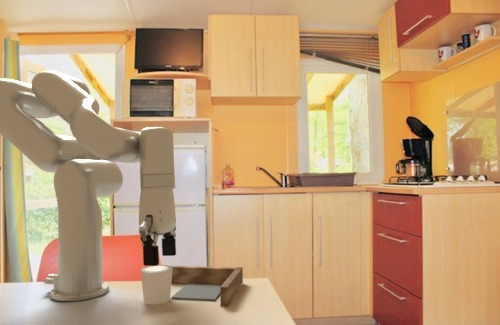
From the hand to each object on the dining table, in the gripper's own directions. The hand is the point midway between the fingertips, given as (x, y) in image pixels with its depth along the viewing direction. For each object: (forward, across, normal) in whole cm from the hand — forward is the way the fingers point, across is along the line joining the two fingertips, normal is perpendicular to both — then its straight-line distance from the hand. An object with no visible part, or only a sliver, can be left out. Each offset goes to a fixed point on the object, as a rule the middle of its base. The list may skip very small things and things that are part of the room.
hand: (160, 260), depth 82 cm
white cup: (+9, 0, -1) cm, 9 cm away
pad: (+9, -6, +7) cm, 13 cm away
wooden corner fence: (+9, -6, +6) cm, 12 cm away
